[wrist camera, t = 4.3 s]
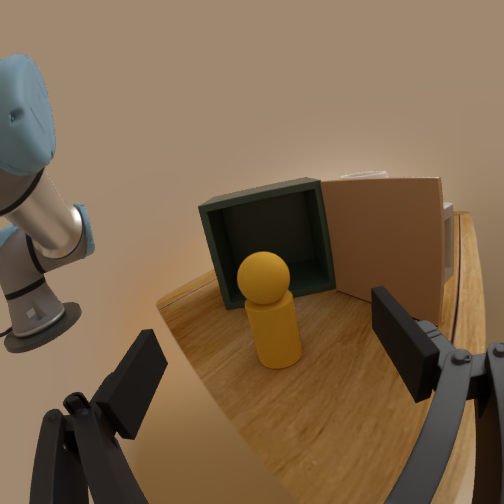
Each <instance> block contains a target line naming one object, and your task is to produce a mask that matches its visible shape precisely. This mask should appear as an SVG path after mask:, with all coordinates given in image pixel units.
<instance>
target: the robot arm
mask: <svg viewBox="0 0 504 504" xmlns="http://www.w3.org/2000/svg"><path fill="white" fill-rule="evenodd" d="M55 139H56V138H55V128H54V121H53V115H52V110H51V106H50V104H49V101H48V93H47V89H46V86H45V83H44V80H43V77H42V75H41V72H40V70H39V68H38V66H37V65H36V63H35V62H34V61H33V60H32V59H31V58H30V57H28V56H26V55H20V54H15V55H11V56H8V57H5V58H3V59H0V217H2V216H4V217H5V218H7V220H9V221H10V222H11V223H13V224H11V225H9V226H8V227H6V228H4V229H3V230H1V231H0V285H1V288H2V290H3V293H4V295H5V297H6V300H7V303H8V307H9V312H10V317H11V321H12V327H10V328H9V329H8V330H6V331H5V332H3V333H1V334H0V337H2V336H5V335H7V334H8V333H9V332H10V331H12V330H13V332H14V334H15V336H16V338H18V339H27V338H30V337H33V336H36V335H38V334H40V333H42V332H44V331H46V330H48V329H49V328H51V327H52V326H54V325H55V324H57V323H58V322H59V321H60V320H61V319H62V318H63V317H64V315H65V313H66V311H65V308H64V306H63V304H62V303H61V302H60V301H59V300H58V298H57V297H56V296H55V294H54V293H53V292H52V290H51V289H50V287H49V286H48V285H47V283H46V280H45V277H44V273H46V272H48V271H51V270H53V269H56V268H59V267H61V266H63V265H66V264H69V263H72V262H74V261H77V260H80V259H84V258H85V257H87V256H89V255H91V254H92V253H93V252H94V250H95V244H94V240H93V235H92V230H91V226H90V222H89V218H88V215H87V211H86V208H85V206H84V205H83V204H75V205H71V204H70V203H68V202H65V201H63V200H62V198H61V197H60V195H59V193H58V191H57V190H56V188H55V186H54V184H53V182H52V180H51V179H50V177H49V175H48V173H47V171H46V169H45V168H46V166H47V165H48V164H49V163H50V160H52V158H53V157H54V153H55V146H56V144H55V143H56V140H55ZM371 301H372V329H373V330H374V332H375V334H376V335H377V337H378V339H379V340H380V342H381V343H382V345H383V347H384V348H385V350H386V352H387V353H388V355H389V357H390V359H391V360H392V362H393V364H394V365H395V367H396V369H397V371H398V372H399V374H400V376H401V378H402V379H403V381H404V383H405V385H406V386H407V388H408V390H409V392H410V394H411V395H412V397H413V399H414V401H415V403H418V402H420V401H423V400H425V399H428V398H430V397H431V393H432V389H433V390H434V391H435V395H434V398H433V400H432V403H431V406H430V409H429V412H428V414H427V417H426V420H425V422H424V425H423V427H422V430H421V432H420V435H419V437H418V439H417V441H416V444H415V446H414V448H413V450H412V452H411V455H410V457H409V459H408V461H407V463H406V465H405V467H404V469H403V471H402V473H401V474H400V476H399V478H398V480H397V482H396V484H395V485H394V487H393V489H392V491H391V492H390V494H389V496H388V497H387V499H386V501H385V502H384V504H430V503H431V501H432V499H433V497H434V494H435V492H436V490H437V488H438V486H439V483H440V481H441V478H442V476H443V474H444V471H445V468H446V466H447V463H448V460H449V458H450V455H451V452H452V449H453V446H454V443H455V440H456V436H457V433H458V430H459V426H460V422H461V419H462V415H463V411H464V407H465V402H466V400H471V399H474V407H475V424H476V464H475V479H474V490H473V498H472V504H504V343H503V342H494V343H492V344H490V345H489V347H488V348H487V352H486V353H483V354H478V355H471V353H470V352H468V351H467V350H463V349H456V348H455V347H454V346H453V345H452V344H451V343H450V342H449V340H448V339H447V338H446V337H445V336H444V335H443V334H442V333H441V332H440V331H439V330H438V328H437V327H436V326H435V325H434V324H433V323H431V322H429V321H427V320H425V319H424V320H421V321H418V322H416V321H415V320H414V319H413V318H412V317H411V316H410V315H409V314H408V312H407V311H406V310H405V309H404V308H403V307H402V306H401V305H400V304H399V302H398V301H397V300H396V299H395V298H394V297H393V296H392V295H391V294H390V293H389V292H388V290H387V289H386V288H385V287H384V286H379V287H375V288H371ZM167 365H168V363H167V361H166V358H165V356H164V354H163V352H162V350H161V347H160V345H159V343H158V341H157V338H156V336H155V334H154V332H153V329H147V330H142V331H141V332H140V334H139V336H138V337H137V338H136V340H135V341H134V343H133V344H132V346H131V347H130V348H129V350H128V351H127V353H126V355H125V356H124V357H123V359H122V361H121V362H120V363H119V365H118V366H117V368H116V369H115V371H114V372H112V373H111V374H109V375H108V376H107V377H106V378H105V379H104V381H103V383H102V385H100V387H99V388H98V389H99V390H97V392H96V393H95V394H94V396H93V398H92V399H91V401H90V402H88V401H87V399H86V398H85V396H84V395H83V393H80V392H75V393H72V394H70V395H68V396H67V397H66V398H65V400H64V402H63V405H64V407H65V408H66V409H67V411H68V412H69V414H70V415H63V414H62V413H61V411H60V410H59V409H52V410H50V411H48V412H47V413H46V414H45V416H44V418H43V421H42V425H41V429H40V434H39V439H38V444H37V449H36V454H35V460H34V467H33V473H32V481H31V490H30V502H29V504H89V497H88V486H89V489H90V492H91V495H92V498H93V501H94V504H149V503H148V501H147V500H146V498H145V496H144V494H143V492H142V491H141V489H140V487H139V485H138V483H137V481H136V479H135V477H134V475H133V473H132V471H131V469H130V467H129V465H128V463H127V461H126V459H125V456H124V454H123V452H122V450H121V447H120V445H119V443H118V440H117V439H116V438H115V437H114V436H115V433H116V432H118V433H119V435H120V436H121V437H122V438H123V439H132V440H135V437H136V435H137V433H138V430H139V428H140V426H141V423H142V421H143V419H144V416H145V414H146V412H147V410H148V407H149V405H150V403H151V400H152V398H153V396H154V394H155V391H156V389H157V387H158V385H159V382H160V380H161V378H162V375H163V374H164V371H165V369H166V367H167ZM63 446H64V447H65V449H64V447H63Z"/></svg>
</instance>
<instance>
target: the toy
mask: <svg viewBox="0 0 504 504" xmlns="http://www.w3.org/2000/svg"><path fill="white" fill-rule="evenodd" d="M237 282H238V286H239V289H240V291H241V292H242V294H243V295H244V296H245V297H246V298H247V300H246V302H245V309H246V312H247V316H248V320H249V323H250V327H251V331H252V334H253V338H254V342H255V345H256V349H257V353H258V356H259V360H260V362H261V364H262V365H264V366H265V367H268V368H272V369H280V368H285V367H288V366H291V365H293V364H294V363H296V362H297V361H298V360H299V359H300V358H301V356H302V346H301V340H300V334H299V329H298V323H297V317H296V312H295V306H294V301H293V296H292V293H291V292H290V291H288V290H287V289H288V286H289V282H290V274H289V270H288V267H287V265H286V264H285V262H284V261H283V260H282V259H281V258H280V257H279V256H277V255H275V254H273V253H270V252H257V253H254V254H252V255H250V256H249V257H247V258H246V259H245V260H244V261H243V262H242V264H241V265H240V267H239V270H238V274H237Z"/></svg>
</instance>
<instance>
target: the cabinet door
mask: <svg viewBox="0 0 504 504" xmlns="http://www.w3.org/2000/svg"><path fill="white" fill-rule="evenodd" d="M320 184H321V189H322V195H323V200H324V206H325V211H326V217H327V223H328V230H329V236H330V243H331V249H332V256H333V264H334V271H335V279H336V288H337V290H338V291H341V292H344V293H347V294H349V295H352V296H355V297H358V298H360V299H363V300H366V301H369V302H372V301H371V288H375V287H379V286H384V287H385V288H386V289H387V290H388V292H389V293H390V294H391V295H392V296H393V297H394V298H395V299H396V300H397V301H398V302H399V304H400V305H401V306H402V307H403V308H404V309H405V310H406V311H407V312H408V314H409V315H410V316H411V317H413V318H416V319H419V320H424V319H425V320H427V321H429V322H431V323H433V324H434V325H436V326H438V325H439V324H440V323H441V316H442V306H443V294H444V284H445V283H446V282H447V281H448V280H449V279H450V278H451V277H452V275H453V271H454V217H453V204H452V203H443V195H442V185H441V177H394V178H393V177H392V178H365V179H346V180H331V181H322V182H320Z"/></svg>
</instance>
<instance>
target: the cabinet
mask: <svg viewBox="0 0 504 504" xmlns="http://www.w3.org/2000/svg"><path fill="white" fill-rule="evenodd" d="M320 182H321V180H317V179H312V178H307V177H305V178H300V179H296V180H290V181H285V182H280V183H275V184H270V185H265V186H261V187H256V188H252V189H247V190H242V191H238V192H234V193H229V194H225V195H221V196H217V197H213V198H212V199H210V200H208V201H206V202H205V203H203V204H201V205H200V206H198V209H199V213H200V217H201V220H202V225H203V228H204V232H205V235H206V240H207V243H208V247H209V250H210V254H211V258H212V262H213V265H214V269H215V272H216V276H217V280H218V283H219V287H220V290H221V293H222V297H223V300H224V303H225V307H226V310H229V309H234V308H240V307H245V302H246V300H247V298H246V297H245V296H244V295H243V294H242V292H241V291H240V289H239V286H238V282H237V274H238V270H239V267H240V265H241V264H242V262H243V261H244V260H245V259H246V258H247V257H249V256H250V255H252V254H254V253H257V252H270V253H273V254H275V255H277V256H279V257H280V258H281V259H282V260H283V261H284V262H285V264H286V265H287V267H288V270H289V274H290V282H289V286H288V289H287V290H288V291H290V292H291V293H292V296H293V297H298V296H303V295H307V294H312V293H317V292H321V291H326V290H331V289H335V288H336V279H335V271H334V264H333V256H332V249H331V243H330V236H329V230H328V223H327V217H326V211H325V206H324V200H323V195H322V189H321V184H320Z"/></svg>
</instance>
